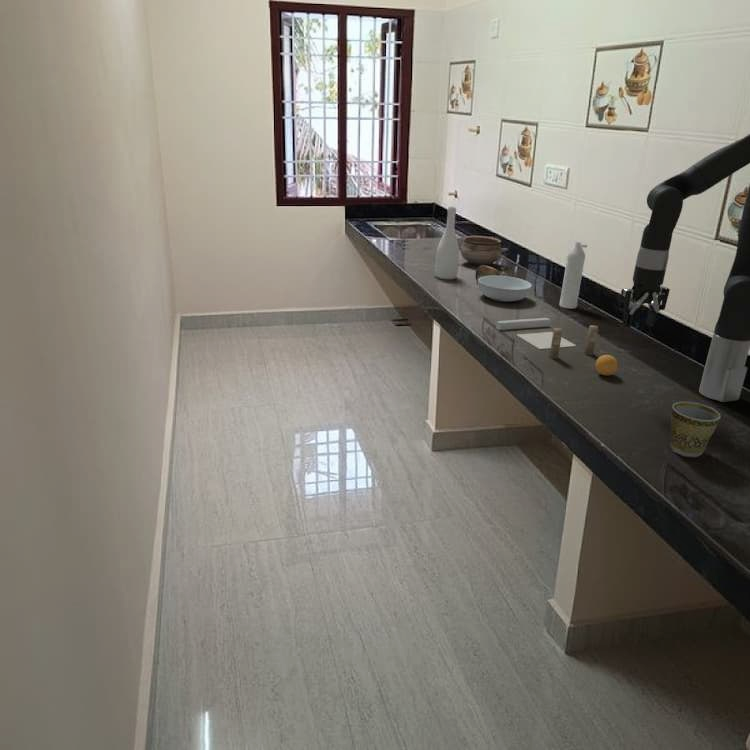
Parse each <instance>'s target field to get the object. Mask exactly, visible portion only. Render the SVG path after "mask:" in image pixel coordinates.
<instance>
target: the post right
mask: <svg viewBox="0 0 750 750" xmlns="http://www.w3.org/2000/svg"><path fill="white" fill-rule="evenodd" d="M598 332H599V326H598V325H592V324H591V325H589V327H588V332H587V333H588V334H587V337H586V338H587V339H586V343H585V349H584V355H586V356H593V355H594V351H595V348H596V341H597V336H598Z"/></svg>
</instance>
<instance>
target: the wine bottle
mask: <svg viewBox="0 0 750 750" xmlns="http://www.w3.org/2000/svg"><path fill="white" fill-rule="evenodd" d="M446 212H447V215H446V216H447V218H446V225H445V226H446V227H445V230H444V231H443V234H442V237H441V238H440V241H439V243H438V245H437V248H436V249H437V250H436V256H435V257H436V258H435V266H434V267H435V269H434V276H435V277H436V278H437V279H440V280H446V281H447V280H455V279H456V278H457V275H458V269H459V268H458V266H459V257H460V250H459V247H458V246H459V243H458V239H457V234H456V229H455V224H456V223H455V221H456V213H457V208H456V207H455V206H448V207H447V211H446Z"/></svg>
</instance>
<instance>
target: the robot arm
mask: <svg viewBox="0 0 750 750" xmlns="http://www.w3.org/2000/svg"><path fill="white" fill-rule="evenodd" d="M747 165H750V134H747V135H746V136H744V137H742V138H739V140H736V141H734V142H732V143H730V144H728V145H725V146H723V147H721V148H719V149H717V150H716V151H714V152H712V153H710V154H708V155H707V156H705V157H704V158H702V159H700V160H698V161H697V162H696V163H694V164H693V165H690V167H688V168H687V169H685V170H684V171H683V172H680V173H678V174H676V175H673V176H671V177H670V178H668V179H666V180H664V181H662V182H660V183H658V184H657V185H655V186H654V187H653V188H652V189H651V190H650V191H649V192H648V194H647V196H646V204H647V207H648V209H650V210H651V214H650V219H649V222H648V224H646V226H645V227H644V229H643V232H642V237H641V241H640V246H639V250H638V253H637V256H636V260H635V266H634V272H633V276H632V283H633V285H632V287H631V288H625V287H623V288H622V289H621V292H620V298H619V304H618V311H621V312H624V314H623V319H622V325H623V326H624V327H625V328H627V329H629V328H631V327H632V323H633V318H634V313H635V311H636V310H637V309H639V308H640V307H641V305H645V304H647V305H648V309H649V310H648V311H647V315H646V320H645V325H647V326H650V327H653V326H654V325H655V323H656V319H657V315H658V313H659V312H660V311H665V309H666V306H667V302H668V298H669V294H670V291H671V290H670V288H669V287H665V286H663V285H664V281H665V277H666V276H665V275H666V272H667V271H666V270H667V266H668V262H669V255H670V254H669V253H670V248H671V242H672V239H673V233H674V231H675V229H676V226H677V223H678V221H679V219H680V217H681V213H682V212H683V211H682V210H683V207H684V206H683V205H684V200H686V199H688V198H689V197H692V196H698V195H700V194H703V193H704V192H707V190H709V189H712V188H713V187H714V186H716V185H717V184H719V183H721V182H722V181H723V180H725V179H727V178H728V177H730V176H731V175H733V174H734V173H736V172H738V171H740V170H742V168H744V167H746V166H747ZM740 218H741V219H740V225H739V229H738V230H739V231H738V236H737V244H736V245H737V246H736V253H735V256H734V259H733V262H732V266H731V268H730V271H729V275H728V277H727V279H726V282H725V285H724V287H723V300H722V305H721V309H720V312H719V317H718V319H717V322H716V324H715V326H714V331H713V334H712V338H711V341H710V346H709V349H708V353H707V357H706V361H705V366H704V369H703V373H702V377H701V380H700V381H701V382H700V385H699V390H698V393H700V394H701V395H702V396H704V397H706V398H708V399H711V400H714V401H715V400H716V401H718V402H721V403H725V402H734V401H739V399H740V395H741V393H742V389H743V386H744V382H745V378H746V375H747V371H748V367H747V366H745V365H746V362H747V358H748V356H749V351H750V184H749V186H748V189H747V194H746V197H745V200H744V205H743V210H742V213H741V217H740Z"/></svg>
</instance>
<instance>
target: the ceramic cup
mask: <svg viewBox="0 0 750 750" xmlns="http://www.w3.org/2000/svg"><path fill="white" fill-rule="evenodd" d="M670 415H671V416H670V425H671V426H670V442H669V443H670V444H669V445H670V448H671V450H672V451H673V452H674V453H676V454H677V455H680V456H682V457H688V458H697V457H699V456H701V455H702V454H704V451H705V450H706V447H707V445H708V444H709V443H710V440H711V438H712V435H713V434H714V433H715V430H716V428H718V427H717V426H718V425H719V422H720V420H721V413H720V412H718V410H716V409H715V408H714V407H713V406H708V405H705V404H702V403H700V402H692V401H678V402H675V403H673V404H672V405H671V413H670Z"/></svg>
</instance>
